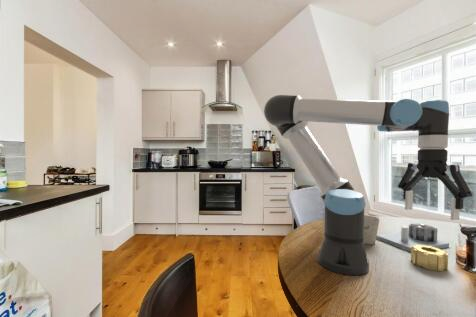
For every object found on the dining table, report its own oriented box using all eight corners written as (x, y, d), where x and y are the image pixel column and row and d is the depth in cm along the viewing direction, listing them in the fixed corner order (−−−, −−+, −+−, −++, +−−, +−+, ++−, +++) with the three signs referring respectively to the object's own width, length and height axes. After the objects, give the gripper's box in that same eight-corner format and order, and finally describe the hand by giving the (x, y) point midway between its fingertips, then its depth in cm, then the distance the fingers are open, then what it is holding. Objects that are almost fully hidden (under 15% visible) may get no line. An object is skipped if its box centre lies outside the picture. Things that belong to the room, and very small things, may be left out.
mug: (381, 246, 93) (382, 221, 93) (347, 243, 96) (348, 218, 95) (374, 239, 101) (374, 215, 101) (342, 236, 104) (343, 213, 104)
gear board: (413, 253, 87) (414, 234, 87) (375, 238, 102) (375, 222, 102) (448, 247, 94) (449, 229, 94) (407, 234, 109) (408, 218, 109)
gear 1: (427, 243, 93) (427, 228, 93) (403, 235, 102) (403, 222, 102) (442, 241, 96) (443, 226, 96) (418, 233, 105) (418, 220, 105)
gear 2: (434, 273, 72) (435, 257, 72) (404, 260, 81) (405, 246, 81) (453, 269, 75) (454, 253, 75) (423, 257, 84) (423, 243, 84)
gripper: (490, 148, 67) (487, 223, 68) (402, 149, 91) (400, 205, 91) (474, 147, 65) (471, 226, 65) (388, 149, 88) (386, 206, 88)
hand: (429, 214), depth 78 cm, fingers open, 13 cm apart
